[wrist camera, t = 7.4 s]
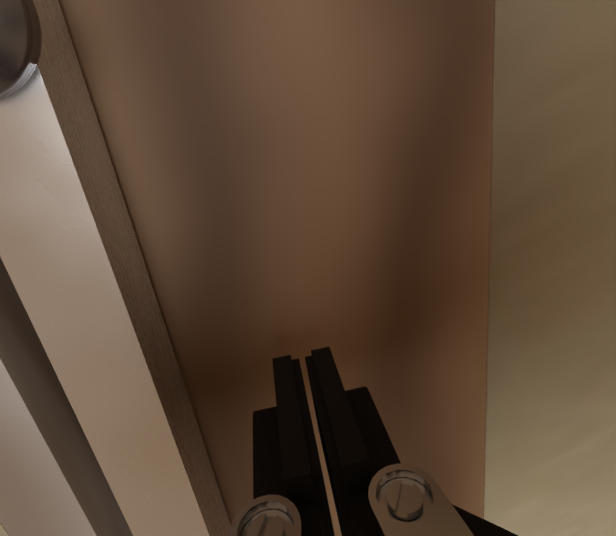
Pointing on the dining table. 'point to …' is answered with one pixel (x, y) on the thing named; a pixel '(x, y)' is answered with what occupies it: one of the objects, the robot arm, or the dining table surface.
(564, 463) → the dining table surface
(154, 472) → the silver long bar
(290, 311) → the tongs board
